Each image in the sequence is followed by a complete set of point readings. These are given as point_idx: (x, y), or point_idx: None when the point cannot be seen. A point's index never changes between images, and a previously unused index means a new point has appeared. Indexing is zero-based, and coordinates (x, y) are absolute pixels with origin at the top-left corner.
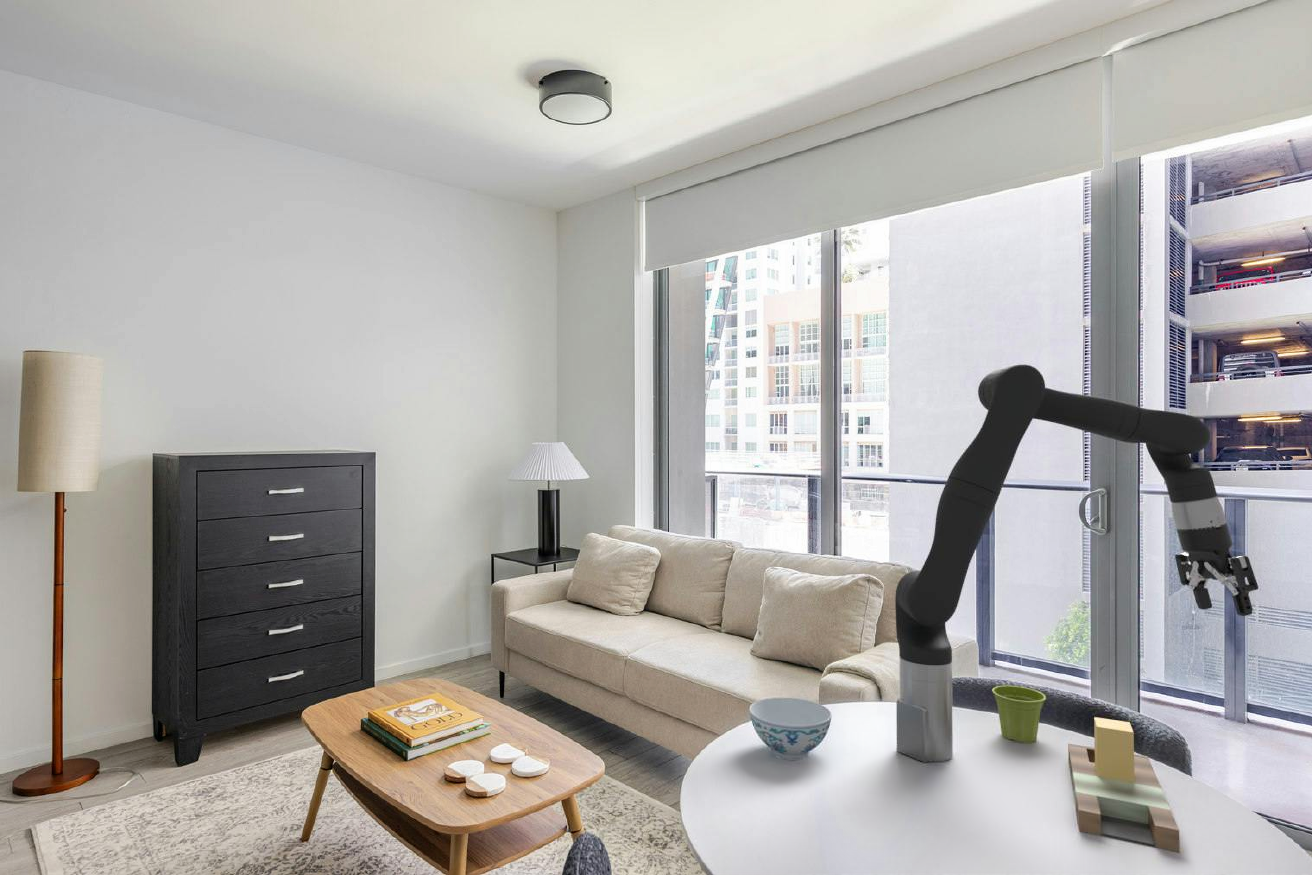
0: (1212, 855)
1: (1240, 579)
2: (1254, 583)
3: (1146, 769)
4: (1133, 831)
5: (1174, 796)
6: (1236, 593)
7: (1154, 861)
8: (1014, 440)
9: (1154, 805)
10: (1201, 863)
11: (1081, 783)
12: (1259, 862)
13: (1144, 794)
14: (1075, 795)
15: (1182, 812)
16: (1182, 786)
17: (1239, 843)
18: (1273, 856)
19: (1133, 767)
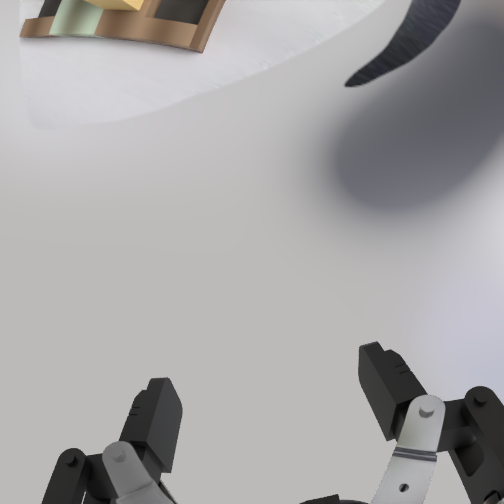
0: (30, 61)
1: (50, 494)
2: (85, 497)
3: (147, 31)
4: (54, 6)
5: (136, 60)
6: (111, 446)
7: (22, 19)
8: None
9: (55, 21)
10: (20, 51)
11: None
12: (26, 94)
13: (77, 15)
14: None
15: (97, 55)
16: (168, 81)
17: (48, 89)
18: (35, 110)
19: (94, 4)
